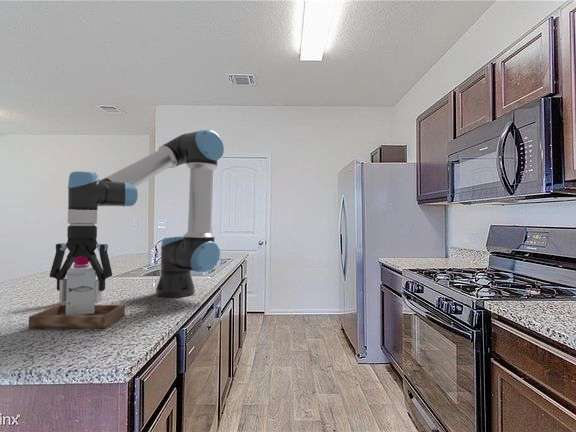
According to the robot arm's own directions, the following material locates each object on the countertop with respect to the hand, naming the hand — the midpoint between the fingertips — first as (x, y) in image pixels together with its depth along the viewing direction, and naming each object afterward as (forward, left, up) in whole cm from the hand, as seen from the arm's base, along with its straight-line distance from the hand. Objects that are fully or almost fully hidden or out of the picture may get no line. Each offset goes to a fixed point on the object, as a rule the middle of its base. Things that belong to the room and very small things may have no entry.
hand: (80, 301), depth 105 cm
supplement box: (0, 0, -3) cm, 3 cm away
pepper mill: (+13, -26, -6) cm, 30 cm away
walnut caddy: (0, 0, -6) cm, 6 cm away
